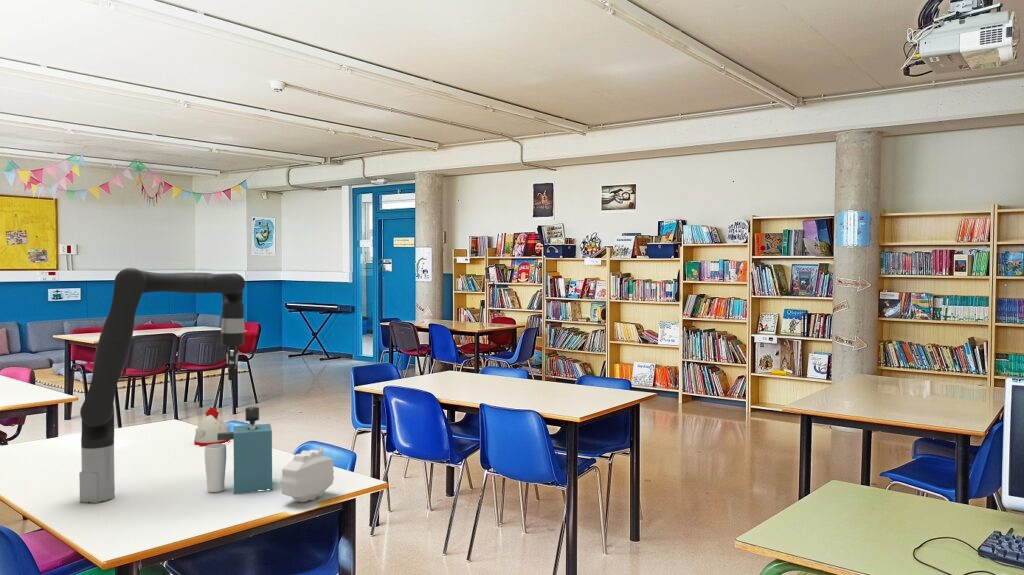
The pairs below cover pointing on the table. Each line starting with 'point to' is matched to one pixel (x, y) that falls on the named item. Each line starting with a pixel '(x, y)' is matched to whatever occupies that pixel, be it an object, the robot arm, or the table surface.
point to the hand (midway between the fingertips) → (232, 378)
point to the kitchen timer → (210, 429)
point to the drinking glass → (215, 466)
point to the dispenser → (251, 457)
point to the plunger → (252, 415)
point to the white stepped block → (307, 475)
